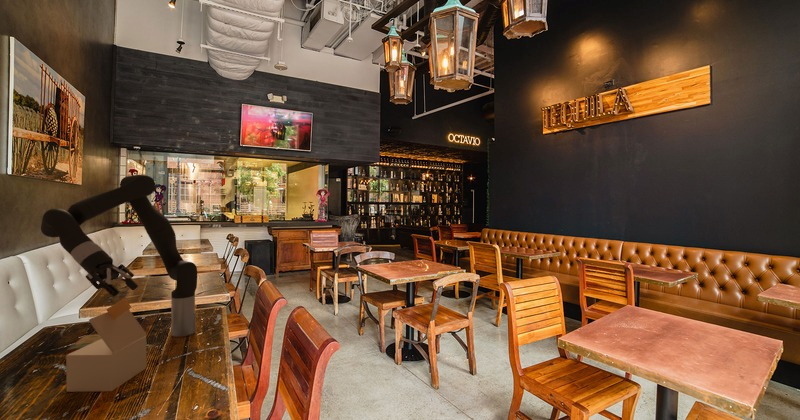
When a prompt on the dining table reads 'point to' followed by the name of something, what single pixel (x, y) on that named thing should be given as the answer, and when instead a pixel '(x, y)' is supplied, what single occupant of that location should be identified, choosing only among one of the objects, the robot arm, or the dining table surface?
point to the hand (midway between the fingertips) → (126, 291)
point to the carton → (83, 342)
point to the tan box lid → (118, 326)
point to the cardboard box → (104, 366)
